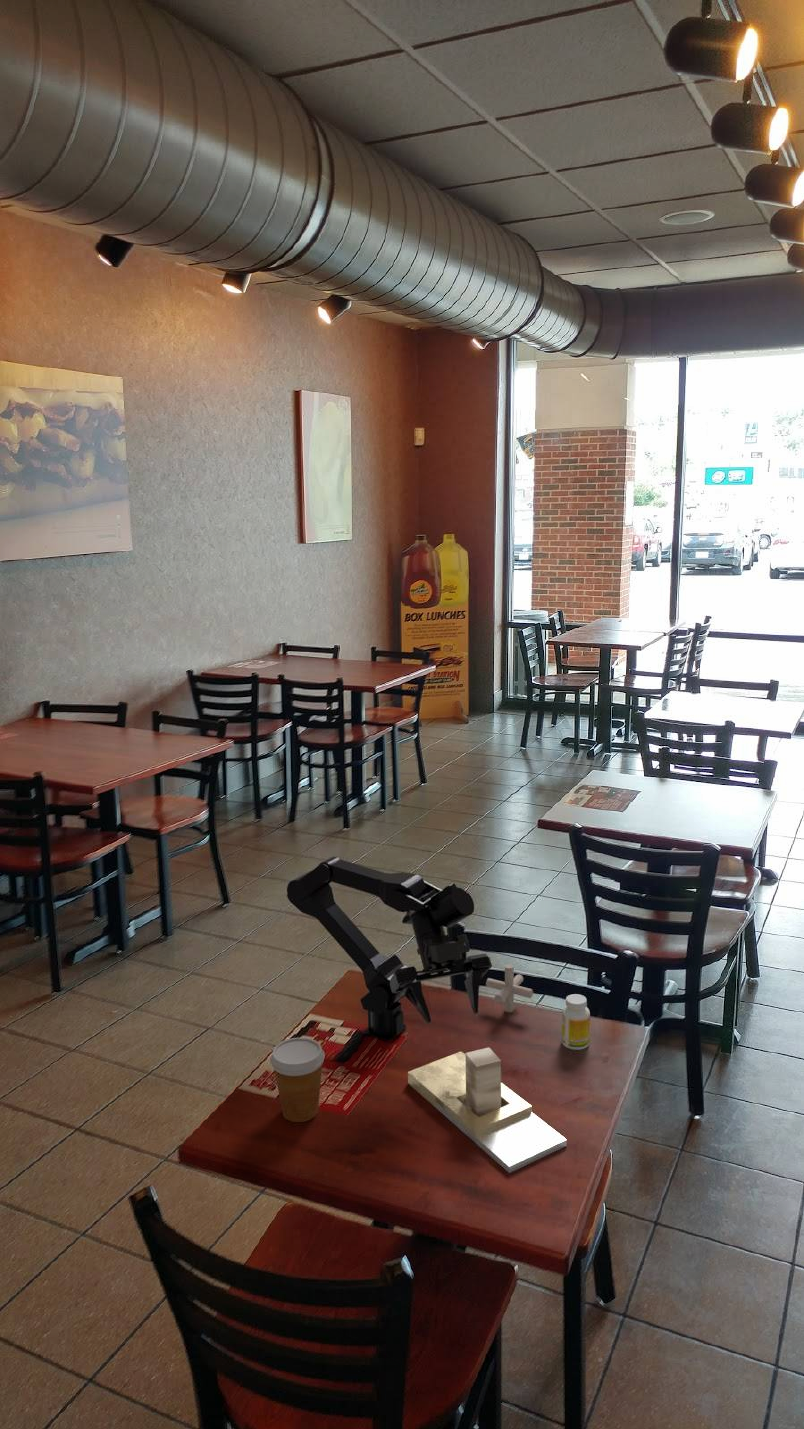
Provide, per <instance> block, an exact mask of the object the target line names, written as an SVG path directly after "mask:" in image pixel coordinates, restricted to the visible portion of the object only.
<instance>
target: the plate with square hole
mask: <svg viewBox="0 0 804 1429" xmlns="http://www.w3.org/2000/svg"><path fill="white" fill-rule="evenodd" d="M407 1082H408V1085H409V1086H410V1087H412V1088H413V1090H415V1091H416V1092H417V1093H418V1094H419V1095H421V1096H422V1097H423V1098H424V1099H425V1100H426V1101H427V1102H428V1103H430V1104H431V1105H432V1106H433V1107H435V1109H436V1110H437V1111H439V1112H440V1113H441V1114H442V1115H443V1116H444V1117H445V1118H447V1119H448V1120H449V1121H450V1122H451V1123H452V1124H454V1126H455V1127H457V1128H458V1130H460V1131H461V1132H462V1133H464V1135H465V1136H467V1137H468V1138H469V1139H470V1140H472V1142H474V1143H475V1144H476V1145H477V1146H478V1148H480V1149H481V1150H483V1151H484V1152H485V1153H486V1154H487V1155H488V1156H489V1157H490V1158H492V1159H493V1160H494V1161H495V1162H496V1163H497V1164H498V1165H500V1167H502V1168H503V1169H504V1170H505V1171H506V1172H507V1173H508V1174H511V1173H512V1172H513V1173H514V1172H515V1171H518V1170H519V1169H520V1168H521V1169H522V1168H523V1167H525V1166H527V1165H529V1164H531V1163H534V1162H536V1161H537V1160H540V1159H542V1158H545V1157H546V1156H548V1155H550V1154H552V1153H555V1152H556V1151H559V1150H561V1149H563V1148H565V1147H567V1142H568V1141H567V1140H568V1139H566V1138H565V1137H564V1136H563V1135H561V1134H560V1133H559V1132H558V1131H556V1130H555V1129H554V1128H553V1127H551V1126H550V1125H548V1124H547V1123H546V1122H545V1121H544V1120H542V1119H541V1118H540V1117H539V1116H537V1115H536V1114H535V1113H533V1110H532V1109H533V1107H532V1105H531V1104H530V1103H528V1102H527V1101H526V1100H524V1099H523V1098H522V1097H520V1096H519V1095H518V1094H517V1093H515V1092H514V1091H513V1090H512V1089H510V1088H509V1087H508V1086H506V1085H505V1084H504V1083H503V1082H501V1108H499V1109H497V1110H495V1111H493V1112H490V1113H488V1114H486V1115H483V1116H481V1117H478V1116H477V1115H476V1114H474V1113H473V1112H472V1111H471V1110H470V1109H468V1108H467V1107H466V1067H465V1053H464V1052H463V1051H459V1052H456V1053H453V1054H451V1055H448V1056H445V1057H443V1058H440V1059H437V1060H435V1061H432V1062H430V1063H427V1064H424V1065H422V1066H420V1067H419V1066H418V1067H417V1068H414V1069H412V1070H409V1071H407Z"/></svg>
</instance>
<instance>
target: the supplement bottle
mask: <svg viewBox="0 0 804 1429" xmlns="http://www.w3.org/2000/svg"><path fill="white" fill-rule="evenodd" d="M587 1006H588V1001H587V998H586V996H584V995H582V994H578V993H574V994H569V995H567V996H566V997H565V1005H564V1006H563V1008H562V1011H561V1043H562V1045H563V1046H564V1047H565V1048H567V1049H570V1050H576V1051H581V1050H584V1049H586V1048H587V1047H588V1046H589V1044H590V1030H591V1029H590V1025H591V1024H590V1023H591V1012H590V1009H589V1008H588V1007H587Z"/></svg>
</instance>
